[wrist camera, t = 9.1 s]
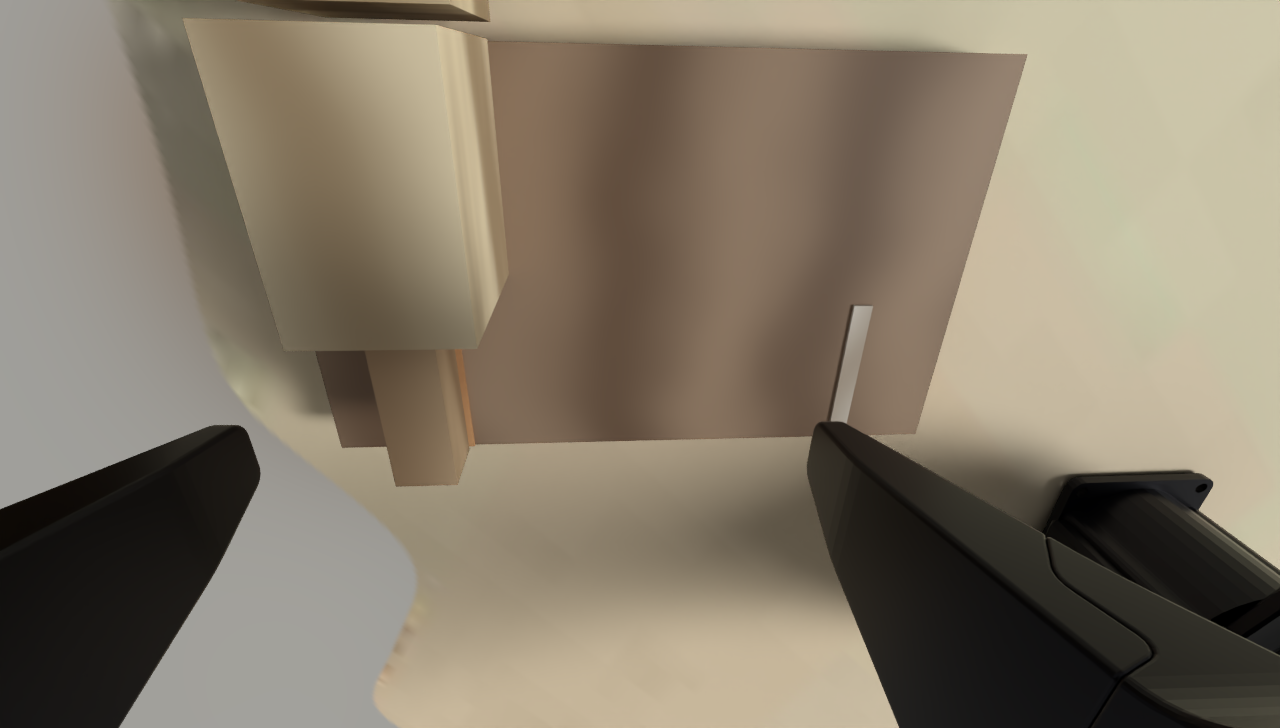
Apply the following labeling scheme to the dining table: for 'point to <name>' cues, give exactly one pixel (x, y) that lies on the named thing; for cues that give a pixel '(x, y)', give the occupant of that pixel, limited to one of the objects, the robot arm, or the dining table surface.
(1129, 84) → the dining table surface
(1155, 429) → the dining table surface
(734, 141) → the walnut board
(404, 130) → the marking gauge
